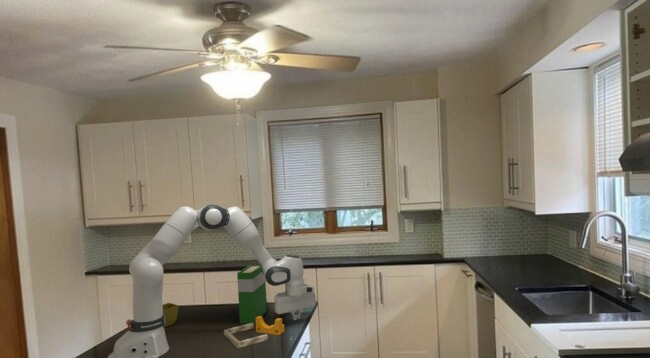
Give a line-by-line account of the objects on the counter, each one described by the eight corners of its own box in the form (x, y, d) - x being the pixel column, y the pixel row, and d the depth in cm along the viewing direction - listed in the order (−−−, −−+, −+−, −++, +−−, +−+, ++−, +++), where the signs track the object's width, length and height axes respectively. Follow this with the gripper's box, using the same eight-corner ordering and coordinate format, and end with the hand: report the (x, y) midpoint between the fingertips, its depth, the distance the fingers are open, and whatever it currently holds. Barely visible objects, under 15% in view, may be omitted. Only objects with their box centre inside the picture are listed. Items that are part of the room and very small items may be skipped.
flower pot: (163, 329, 186) (162, 310, 186) (153, 326, 191) (152, 307, 191) (179, 323, 193) (178, 305, 193) (169, 320, 198) (168, 302, 198)
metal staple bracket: (237, 348, 161) (236, 343, 161) (223, 334, 176) (223, 330, 176) (268, 339, 168) (267, 335, 168) (252, 327, 183) (252, 322, 183)
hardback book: (252, 310, 206) (250, 264, 206) (266, 310, 205) (264, 264, 205) (239, 323, 189) (237, 273, 189) (254, 323, 188) (252, 272, 188)
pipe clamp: (284, 331, 176) (283, 317, 176) (279, 335, 172) (278, 320, 172) (261, 328, 181) (260, 314, 181) (256, 332, 177) (255, 317, 177)
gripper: (277, 295, 177) (278, 326, 177) (316, 287, 187) (318, 316, 187) (271, 292, 182) (273, 322, 182) (310, 284, 193) (311, 312, 193)
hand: (296, 319), depth 185 cm, fingers closed
